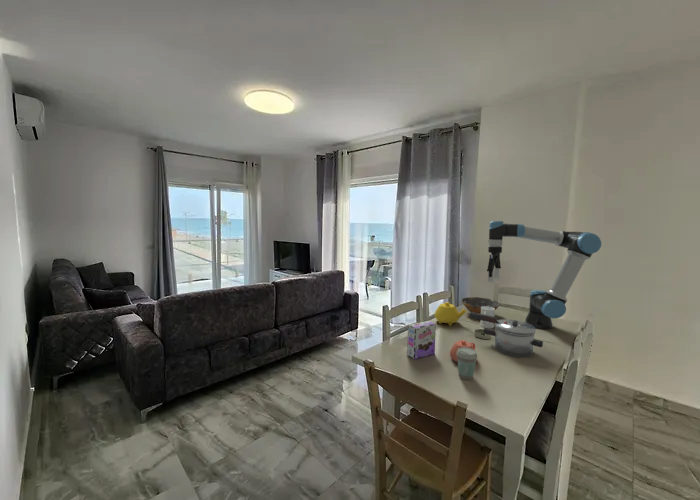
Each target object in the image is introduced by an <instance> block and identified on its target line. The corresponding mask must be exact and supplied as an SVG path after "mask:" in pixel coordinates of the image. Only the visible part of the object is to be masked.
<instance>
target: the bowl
mask: <svg viewBox="0 0 700 500" xmlns="http://www.w3.org/2000/svg"><path fill="white" fill-rule="evenodd" d="M460 301H461V303H462V304H463V306H464V307H465V308H466V310H468V312H469V314H470V313H471V312H474V313H479V314H481V307H483V306H488V307H493V308H495V311H496V310H497V309H498V308H499V306H500V302H498V301H496V300H492V299H490V298H485V297H479V296H478V297H477V296H472V297H471V296H470V297H463V298H461V300H460Z"/></svg>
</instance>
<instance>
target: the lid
mask: <svg viewBox="0 0 700 500" xmlns="http://www.w3.org/2000/svg"><path fill="white" fill-rule="evenodd" d="M469 319H472V320H473V319H474V320H479V321H480V320H482V321H487V322H491V323H494V327H495V326H496V327H497V328H499V329H500V330H503V331H506V332H509V333H514V334H533V333H535V334H536V329H537V328H535V327H534V326H533V325H531V324H528V323H526V322H525V321H522V320H518V319H508V318H507V319H498V317H497V316H494V317H493V316H488V315H484V314H479V313H474V312H471V313H470V312H469Z"/></svg>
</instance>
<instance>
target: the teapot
mask: <svg viewBox="0 0 700 500" xmlns="http://www.w3.org/2000/svg"><path fill="white" fill-rule="evenodd" d="M465 313H467V309H464V308H462V310H461V311H460V312H459V311H458V309H457V307H456V306H455V304H452V303H450V302H448V301H445V302H444V303H440V304H439V305H438V306H437V308H436V310H435V312H434V318H435V319H436V320H437V323H438V324H439V325H440V324H441V325H443V323H444V324H448V326H450V327H452V326H453V324H454V323H457V322H458V321H459V319H460V318H461V317H463V315H465Z"/></svg>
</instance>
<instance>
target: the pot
mask: <svg viewBox="0 0 700 500" xmlns="http://www.w3.org/2000/svg"><path fill="white" fill-rule="evenodd" d="M494 328H495V329H493V328H483V334H485V335H489V336H492V337H493V336H494V349H495V350H496V351H497V352H499V353H501V354H503V355H505V356H510V357H514V358H530V357H532V356H533V355H534V346H535V347H538V348H543V346H544V340H539V339H535V334H536V332H535V333H533V334H514V333H509V332H506V331H503V330H500V329H499V328H497V327H496V326H495V325H494Z"/></svg>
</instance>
